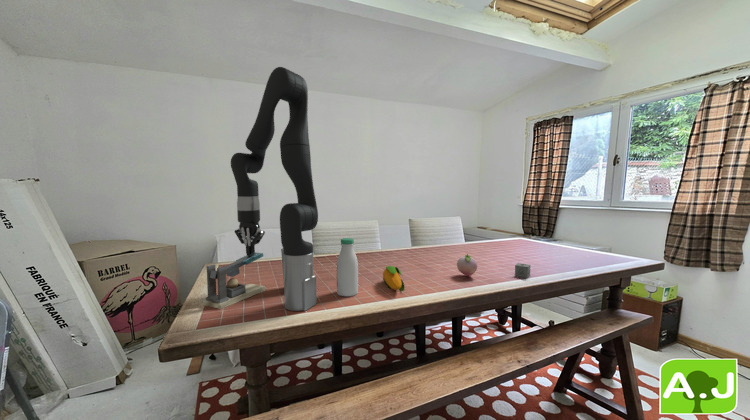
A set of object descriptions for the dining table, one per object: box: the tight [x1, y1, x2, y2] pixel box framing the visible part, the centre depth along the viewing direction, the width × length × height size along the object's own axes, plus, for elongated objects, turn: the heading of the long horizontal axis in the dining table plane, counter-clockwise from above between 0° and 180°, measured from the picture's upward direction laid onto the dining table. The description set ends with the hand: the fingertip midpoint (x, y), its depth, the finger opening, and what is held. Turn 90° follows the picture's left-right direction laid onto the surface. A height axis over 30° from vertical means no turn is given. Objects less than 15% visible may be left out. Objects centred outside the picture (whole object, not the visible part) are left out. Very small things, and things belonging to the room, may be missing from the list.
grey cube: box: [514, 262, 531, 279], centre depth 124 cm, size 5×5×5 cm
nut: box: [226, 277, 239, 289], centre depth 97 cm, size 4×4×4 cm
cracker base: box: [202, 264, 267, 310], centre depth 98 cm, size 8×19×13 cm, turn 157°
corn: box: [382, 265, 405, 292], centre depth 109 cm, size 7×8×20 cm
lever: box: [210, 251, 264, 280], centre depth 99 cm, size 5×17×11 cm, turn 157°
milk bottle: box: [336, 237, 359, 297], centre depth 102 cm, size 8×8×20 cm
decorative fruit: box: [456, 253, 478, 278], centre depth 123 cm, size 9×8×10 cm
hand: (250, 255), depth 104 cm, fingers closed
